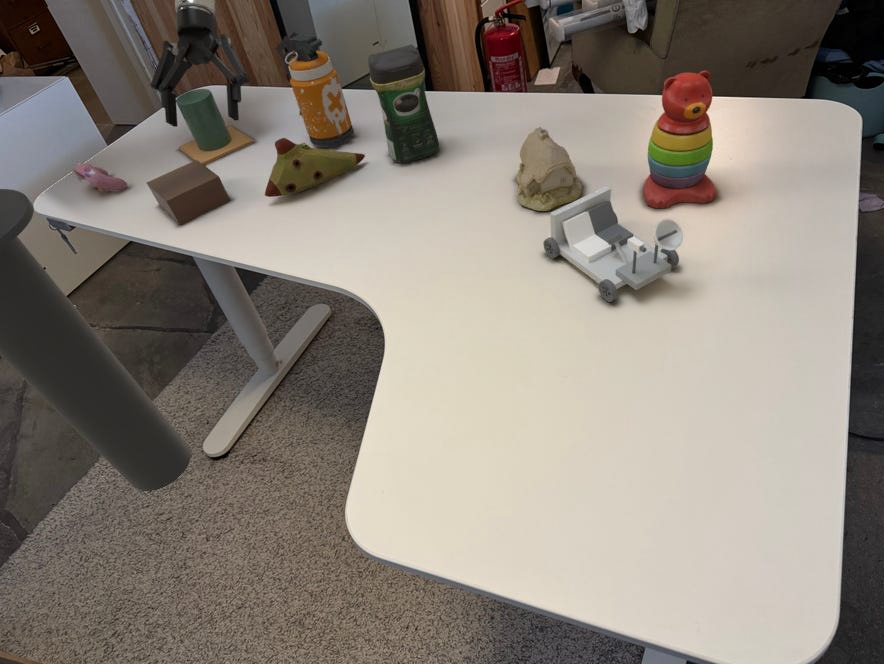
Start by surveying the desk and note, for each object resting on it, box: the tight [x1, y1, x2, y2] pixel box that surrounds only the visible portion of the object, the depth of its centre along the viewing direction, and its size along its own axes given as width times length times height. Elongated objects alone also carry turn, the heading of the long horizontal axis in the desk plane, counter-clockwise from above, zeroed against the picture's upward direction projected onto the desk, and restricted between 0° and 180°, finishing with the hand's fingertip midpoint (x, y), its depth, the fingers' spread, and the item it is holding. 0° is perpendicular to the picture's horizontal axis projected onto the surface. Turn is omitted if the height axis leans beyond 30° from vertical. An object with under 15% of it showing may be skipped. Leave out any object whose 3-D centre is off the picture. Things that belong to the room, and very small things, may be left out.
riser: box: [146, 160, 231, 226], centre depth 111 cm, size 10×10×5 cm
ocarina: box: [264, 137, 366, 198], centre depth 108 cm, size 20×5×10 cm, turn 125°
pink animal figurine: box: [71, 162, 128, 193], centre depth 119 cm, size 10×5×7 cm, turn 50°
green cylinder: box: [176, 88, 232, 151], centre depth 124 cm, size 7×7×10 cm
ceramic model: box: [516, 126, 583, 212], centre depth 98 cm, size 14×11×10 cm
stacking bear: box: [642, 70, 717, 209], centre depth 90 cm, size 11×10×18 cm
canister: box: [275, 31, 355, 148], centre depth 117 cm, size 9×11×20 cm
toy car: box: [543, 185, 684, 303], centre depth 82 cm, size 18×10×12 cm
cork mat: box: [177, 124, 254, 166], centre depth 128 cm, size 12×12×1 cm
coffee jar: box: [367, 44, 440, 164], centre depth 109 cm, size 10×8×19 cm
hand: (202, 121), depth 124 cm, fingers open, 13 cm apart
